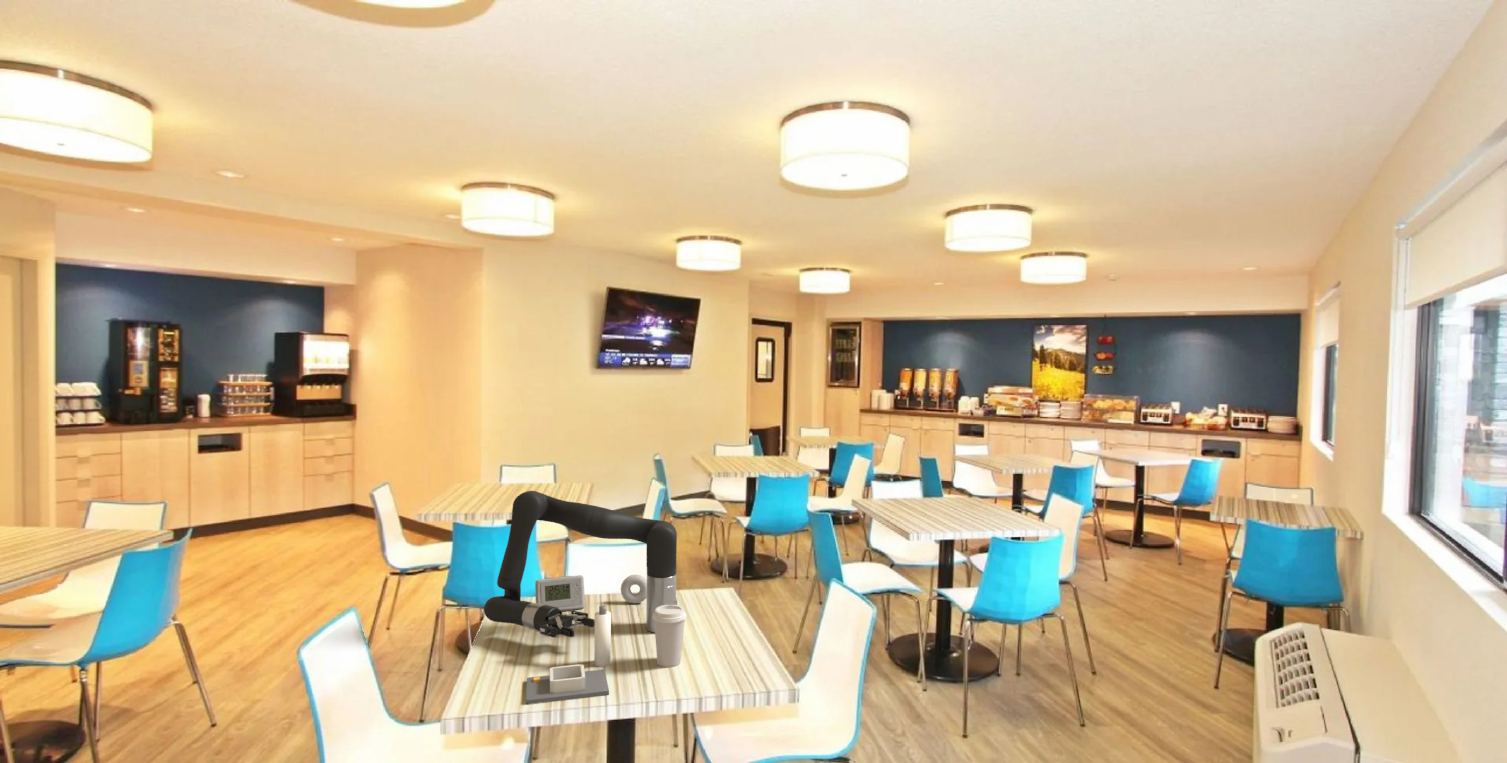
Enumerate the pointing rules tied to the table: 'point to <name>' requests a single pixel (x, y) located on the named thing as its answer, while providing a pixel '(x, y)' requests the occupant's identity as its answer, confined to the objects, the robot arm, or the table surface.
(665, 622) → the coffee cup
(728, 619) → the table surface
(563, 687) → the floor socket
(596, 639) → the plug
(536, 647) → the table surface
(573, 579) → the digital thermostat
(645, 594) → the donut
